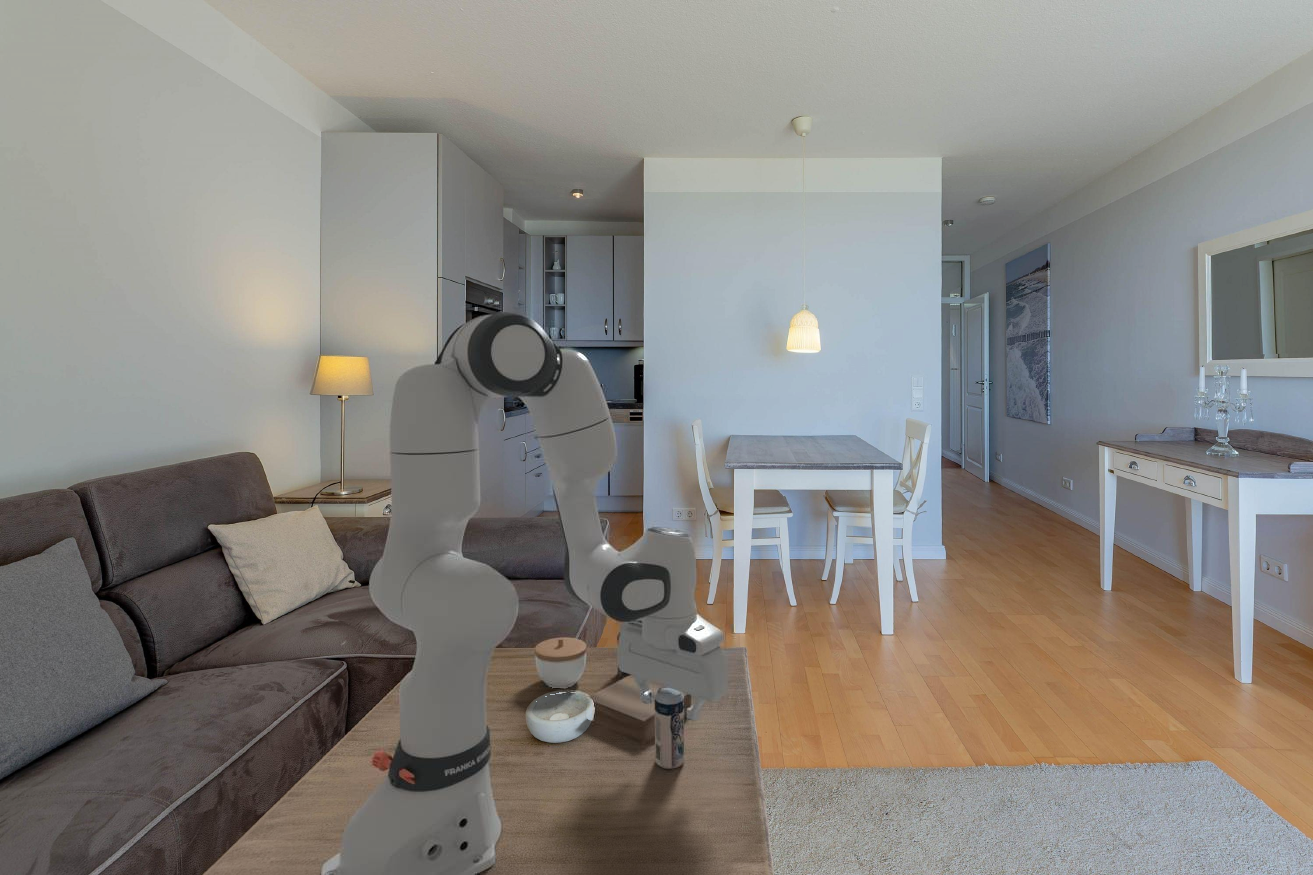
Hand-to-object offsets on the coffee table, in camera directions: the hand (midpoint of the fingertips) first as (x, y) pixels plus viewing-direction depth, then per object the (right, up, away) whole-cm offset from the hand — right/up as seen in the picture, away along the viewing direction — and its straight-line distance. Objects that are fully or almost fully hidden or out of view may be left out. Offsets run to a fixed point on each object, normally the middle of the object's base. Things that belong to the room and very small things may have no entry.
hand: (669, 710), depth 106 cm
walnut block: (-5, -8, +16) cm, 19 cm away
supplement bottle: (-8, -7, +34) cm, 36 cm away
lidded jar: (-22, -7, +31) cm, 38 cm away
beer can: (0, -9, +1) cm, 9 cm away
